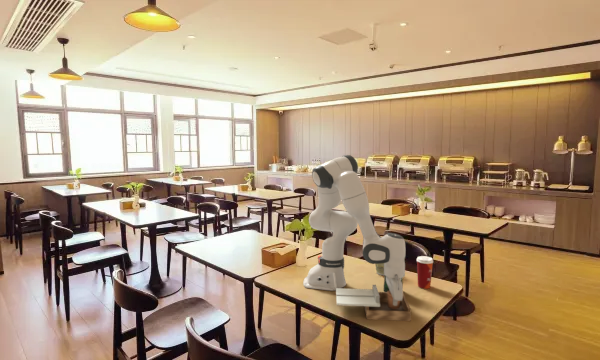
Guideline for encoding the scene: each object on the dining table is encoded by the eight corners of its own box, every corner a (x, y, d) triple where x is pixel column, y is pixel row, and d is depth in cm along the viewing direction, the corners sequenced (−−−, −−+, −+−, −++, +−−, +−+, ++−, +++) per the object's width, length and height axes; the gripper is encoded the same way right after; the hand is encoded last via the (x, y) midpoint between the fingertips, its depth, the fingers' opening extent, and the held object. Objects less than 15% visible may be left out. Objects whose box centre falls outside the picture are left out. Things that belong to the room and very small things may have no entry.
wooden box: (366, 318, 142) (366, 307, 142) (363, 301, 158) (363, 291, 157) (410, 320, 140) (411, 309, 140) (402, 303, 156) (402, 292, 156)
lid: (336, 305, 143) (336, 296, 143) (336, 289, 158) (336, 282, 158) (380, 306, 141) (380, 298, 141) (375, 291, 157) (375, 283, 156)
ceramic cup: (371, 274, 191) (371, 257, 190) (377, 269, 200) (377, 252, 199) (394, 279, 185) (394, 261, 184) (399, 273, 193) (399, 256, 192)
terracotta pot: (401, 309, 145) (402, 296, 145) (387, 308, 146) (388, 295, 145) (399, 303, 151) (399, 290, 151) (385, 302, 152) (386, 289, 151)
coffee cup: (433, 290, 170) (435, 261, 168) (416, 289, 172) (417, 260, 170) (431, 283, 178) (431, 256, 177) (414, 282, 180) (415, 255, 178)
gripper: (407, 280, 136) (406, 313, 138) (397, 263, 157) (396, 292, 158) (391, 279, 137) (390, 312, 138) (383, 262, 157) (382, 291, 159)
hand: (393, 301), depth 148 cm, fingers closed on terracotta pot, 5 cm apart
